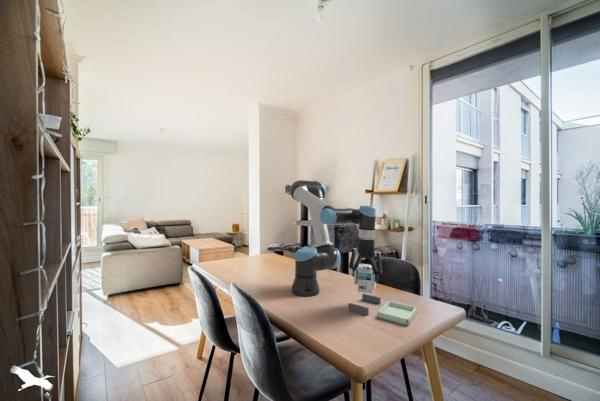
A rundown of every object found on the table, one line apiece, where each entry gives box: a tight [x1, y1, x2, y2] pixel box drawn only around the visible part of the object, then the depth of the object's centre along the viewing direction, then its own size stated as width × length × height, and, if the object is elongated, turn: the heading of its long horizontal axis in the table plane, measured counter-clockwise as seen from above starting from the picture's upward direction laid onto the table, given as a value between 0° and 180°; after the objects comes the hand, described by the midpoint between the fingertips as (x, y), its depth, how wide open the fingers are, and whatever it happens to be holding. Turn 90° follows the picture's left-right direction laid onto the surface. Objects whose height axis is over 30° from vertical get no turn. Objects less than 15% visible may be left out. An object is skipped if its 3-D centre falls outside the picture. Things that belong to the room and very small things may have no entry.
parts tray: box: [376, 300, 418, 327], centre depth 118 cm, size 13×17×2 cm
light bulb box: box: [357, 263, 374, 294], centre depth 127 cm, size 11×7×11 cm, turn 168°
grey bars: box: [348, 292, 382, 316], centre depth 127 cm, size 9×17×3 cm, turn 145°
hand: (364, 285), depth 127 cm, fingers closed on light bulb box, 8 cm apart
